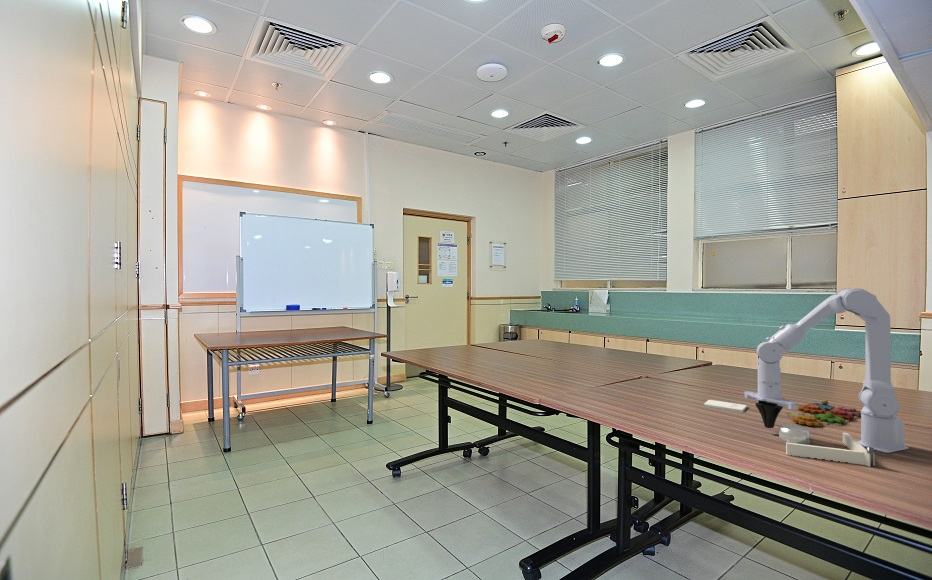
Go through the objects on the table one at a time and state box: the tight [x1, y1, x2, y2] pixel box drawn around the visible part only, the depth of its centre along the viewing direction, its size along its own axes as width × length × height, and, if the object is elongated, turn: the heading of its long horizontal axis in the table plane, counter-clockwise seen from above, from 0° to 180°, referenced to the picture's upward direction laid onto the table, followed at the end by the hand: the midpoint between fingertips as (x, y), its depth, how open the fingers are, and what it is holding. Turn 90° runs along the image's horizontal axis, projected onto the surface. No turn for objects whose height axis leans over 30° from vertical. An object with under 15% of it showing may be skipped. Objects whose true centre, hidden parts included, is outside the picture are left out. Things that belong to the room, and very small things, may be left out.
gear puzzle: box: [786, 399, 861, 427], centre depth 150 cm, size 31×16×4 cm, turn 122°
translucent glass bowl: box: [778, 423, 811, 445], centre depth 127 cm, size 7×7×4 cm
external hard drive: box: [703, 399, 748, 413], centre depth 163 cm, size 2×8×12 cm
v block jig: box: [785, 432, 875, 468], centre depth 115 cm, size 24×13×4 cm, turn 109°
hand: (769, 427), depth 133 cm, fingers closed
